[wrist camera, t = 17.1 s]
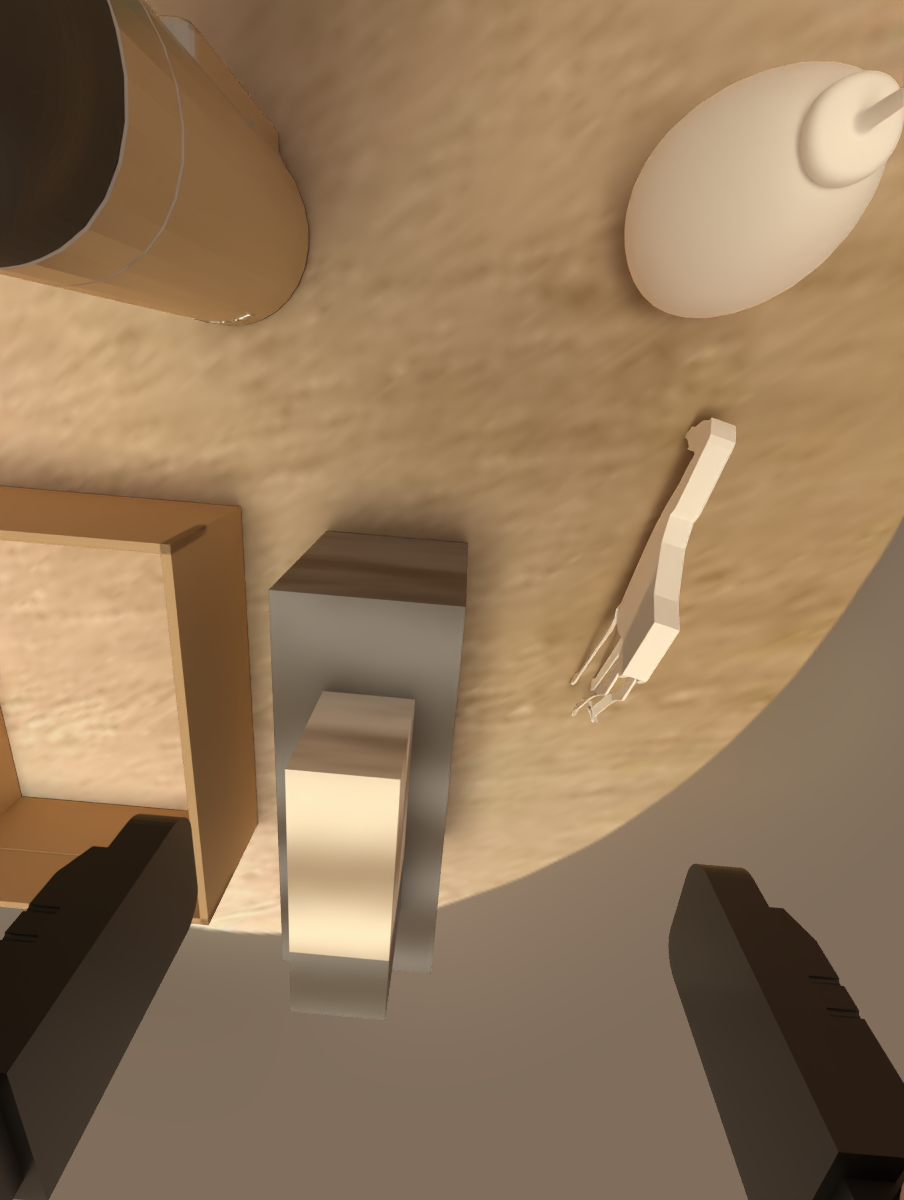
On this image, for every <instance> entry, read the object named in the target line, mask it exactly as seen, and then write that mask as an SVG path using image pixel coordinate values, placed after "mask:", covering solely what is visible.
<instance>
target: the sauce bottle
mask: <svg viewBox="0 0 904 1200" xmlns="http://www.w3.org/2000/svg"><path fill="white" fill-rule="evenodd" d="M903 123H904V87H902V88H900V87H899V85H898V83H897V82H896V81H895V80H894V79H893V77H891V76H889V75H888V74H886V73H884V72H880V71H876V70H866V71H864V70H862V69H860V68H858V67H856V66H852V65H848V64H844V63H840V62H826V61H807V62H799V63H794V64H789V65H784V66H779V67H775V68H771V69H767V70H765V71H762V72H759V73H757V74H754V75H752V76H749V77H747V78H744V79H742V80H739V81H737V82H735V83H733V84H731V85H729V86H727V87H725V88H724V89H722V90H721V91H719V92H717V93H716V94H714V95H713V96H711V97H709V98H708V99H706V100H705V101H703V102H702V103H700V104H699V105H697V106H696V107H695V108H694V109H692V110H691V111H690V112H689V113H688V114H687V115H686V116H685V117H683V118H682V119H681V120H680V121H679V122H678V123H677V124H676V125H675V126H673V127H672V128H671V129H670V130H669V131H668V133H667V134H666V135H665V136H664V137H663V139H662V140H661V141H660V143H659V144H658V145H657V147H656V148H655V149H654V151H653V152H652V153H651V155H650V156H649V157H648V159H647V160H646V162H645V164H644V166H643V168H642V170H641V172H640V174H639V176H638V178H637V180H636V182H635V185H634V187H633V190H632V193H631V197H630V200H629V204H628V208H627V212H626V221H625V230H624V235H625V253H626V258H627V263H628V268H629V271H630V273H631V276H632V279H633V281H634V283H635V285H636V287H637V288H638V290H639V291H640V293H641V295H642V296H643V297H644V298H645V299H646V300H647V301H648V302H650V303H651V304H652V305H653V306H654V307H656V308H658V309H660V310H662V311H663V312H665V313H667V314H671V315H675V316H680V317H684V318H711V317H717V316H723V315H729V314H733V313H737V312H740V311H742V310H745V309H748V308H751V307H754V306H757V305H759V304H762V303H763V302H765V301H767V300H769V299H771V298H773V297H775V296H777V295H778V294H780V293H782V292H784V291H786V290H788V289H789V288H791V287H792V286H794V285H795V284H797V283H798V282H799V281H800V280H802V279H803V278H804V277H806V276H807V275H808V274H809V273H811V272H812V271H813V270H815V269H816V268H817V267H818V266H820V265H821V264H822V263H823V262H824V261H825V260H826V259H827V258H828V257H829V256H830V255H831V254H832V252H833V251H834V250H835V249H836V248H837V247H838V246H839V245H840V244H841V242H842V241H843V240H844V239H845V238H846V237H847V236H848V235H849V233H850V232H851V231H852V229H853V228H854V227H855V225H856V224H857V222H858V221H859V219H860V217H861V216H862V214H863V213H864V211H865V209H866V208H867V206H868V204H869V203H870V201H871V200H872V198H873V196H874V194H875V192H876V189H877V187H878V185H879V182H880V180H881V177H882V175H883V172H884V169H885V166H886V162H887V160H888V159H889V157H890V156H891V154H892V153H893V151H894V149H895V148H896V146H897V143H898V141H899V138H900V136H901V132H902V128H903Z"/></svg>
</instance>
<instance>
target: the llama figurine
mask: <svg viewBox="0 0 904 1200" xmlns="http://www.w3.org/2000/svg"><path fill="white" fill-rule="evenodd" d="M685 438H686V439H687V441H688V446H689V447H688V450H690V451H693V452H694V456H693V458H692V460H691V461H690V463H689V465H688V467H687V469H686V471H685V473H684V475H683V477H682V479H681V481H680V483H679V485H678V486H677V488H676V490H675V491H674V493H673V495H672V496H671V498H670V500H669V501H668V503H667V505H666V506H665V508H664V510H663V512H662V514H661V516H660V518H659V520H658V521H657V523H656V525H655V527H654V530H653V532H652V534H651V536H650V538H649V540H648V542H647V544H646V547H645V549H644V551H643V553H642V556H641V558H640V560H639V563H638V565H637V567H636V569H635V572H634V574H633V576H632V579H631V581H630V583H629V585H628V588H627V590H626V592H625V595H624V597H623V599H622V602H621V603H620V605H619V606H618V607H617V608H616V612H615V618H614V620H613V622H612V623H611V625H610V626H609V628H608V629H607V631H606V633H605V634H604V636H603V637H602V639H601V640H600V642H599V643H598V645H597V646H596V648H595V649H594V651H593V652H592V654H591V655H590V656H589V658H588V659H587V661H586V662H585V664H584V665H583V667H582V668H581V670H580V671H579V672H578V673H577V672H576V673H575V674H574V676H573V677H572V680H571V682H570V684H572V685H574V684H575V683H576V682H577V680H578V679H579V677H580V676H581V674H582V673H583V671H584V670H585V668H586V667H587V666H588V664H589V663H590V661H591V660H592V658H593V657H594V655H595V654H596V652H597V651H598V649H599V648H600V647H601V645H602V644H603V643H604V641H605V640H606V639H607V637H608V636H609V635H610V633H611V632H612V631H613V629H614V628H615V625H616V623H617V629H618V634H619V635H620V637H621V638H620V640H619V642H618V643H617V645H616V647H615V648H614V650H613V651H612V653H611V655H610V656H609V658H608V659H607V661H606V662H605V664H604V665H603V667H602V668H601V670H600V671H599V673H598V674H597V676H596V678H592V681H591V689H590V691H593V692H592V693H591V694H590V695H588V696H587V697H586V698H585V699H584V700H583V699H582V698H581V699H580V701H579V703H577V705H576V707H575V708H574V710H573V712H572V714H571V715H572V716H575V715H576V714H577V712H578V710H579V709H580V708H581V707H582V706H583V705H584V704H585V703H587V702H588V701H589V700H590V699H591V698H593V697H595V696H600V695H606V696H605V697H604V698H603V699H602V700H600V701H599V702H598V703H597V704H596V705H594V706H593V703H592V701H590V702H589V704H590V707H588V711H589V714H590V718H591V721H592V722H594V721H595V723H598V720H597V717H596V715H597V714H599V713H600V712H601V711H603V710H604V709H605V708H606V707H608V706H609V705H610V704H612V703H614V701H617V700H620V701H624V699H625V698H626V696H627V695H628V693H629V692H630V690H631V689H632V687H633V686H634V684H635V683H636V682H637V683H640V684H641V683H645V682H647V680H648V679H649V677H650V676H651V674H652V673H653V671H654V670H655V668H656V666H657V665H658V663H659V662H660V660H661V659H662V657H663V656H664V654H665V653H666V651H667V650H668V648H669V647H670V645H671V643H672V642H673V640H674V639H675V637H676V636H677V634H678V633H679V631H680V623H679V606H678V601H679V593H680V585H681V577H682V570H683V562H684V555H685V549H686V546H687V542H688V539H689V536H690V533H691V530H692V527H693V523H694V522H695V521H696V520H697V518H698V517H699V516H700V514H701V512H702V510H703V508H704V506H705V504H706V502H707V500H708V498H709V496H710V494H711V492H712V490H713V488H714V486H715V484H716V482H717V480H718V478H719V476H720V474H721V472H722V470H723V468H724V466H725V464H726V462H727V460H728V458H729V456H730V454H731V452H732V450H733V448H734V446H735V443H736V426H734V425H731V424H729V423H726V422H723V421H720V420H718V419H715V418H712V417H711V419H710V420H703V421H702V422H700V423H699V424H698V425H697V426H696V427H693V426H692V427H691V428H690V430H689V431H688V432H687V434H686V436H685ZM618 657H619V658H618ZM617 658H618V660H617V662H616V664H615V666H614V668H613V669H612V671H611V673H610V675H609V677H608V679H607V681H605V682H604V683H603V684H602V685H601V686H600V687H598V688H596V687H597V686H598V684H599V683H600V681H601V680H602V679H603V677H604V676H605V674H606V673H607V672H608V670H609V669H610V668H611V666H612V665H613V663H614V662H615V661H616V659H617ZM628 676H629V677H628ZM618 677H621V678H625V677H628V679H627V680H626V682H625V684H624V686H623V687H622V688H620V689H619V690H618V691H617V692H615V693H611V694H608V692H609V691H610V689H611V688H612V686H613V684H614V683H615V681H616V680H617V678H618ZM595 688H596V689H595ZM607 694H608V695H607Z"/></svg>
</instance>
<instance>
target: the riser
mask: <svg viewBox="0 0 904 1200" xmlns="http://www.w3.org/2000/svg"><path fill="white" fill-rule="evenodd" d="M467 551H468V543H460V542H449V541H437V540H425V539H414V538H402V537H390V536H379V535H367V534H356V533H344V532H332V531H326V532H325V533H324V534H323V535H322V536H321V537H320V538H319V539H318V540H317V541H316V542H315V543H314V544H313V545H312V546H311V547H310V548H309V549H308V550H307V551H306V552H305V553H304V554H303V555H302V556H301V558H300V559H299V560H298V561H297V562H296V563H295V564H294V565H293V566H292V567H291V568H290V569H289V570H288V571H287V572H286V573H285V574H284V575H283V576H282V577H281V578H280V579H279V580H278V581H277V582H276V583H275V584H274V585H273V586H272V587H271V588H270V589H269V612H270V638H271V664H272V689H273V715H274V741H275V767H276V793H277V819H278V845H279V871H280V897H281V923H282V949H283V961H288V962H290V954H289V913H288V872H287V831H286V790H285V768H286V766H287V764H288V762H289V760H290V758H291V756H292V754H293V752H294V750H295V748H296V745H297V743H298V741H299V739H300V737H301V735H302V733H303V731H304V729H305V727H306V725H307V723H308V721H309V719H310V717H311V714H312V712H313V710H314V708H315V706H316V704H317V702H318V700H319V698H320V696H321V694H322V692H323V691H329V692H340V693H351V694H362V695H373V696H383V697H394V698H405V699H415V707H414V721H413V735H412V749H411V764H410V778H409V792H408V806H407V820H406V834H405V848H404V862H403V876H402V890H401V904H400V915H399V922H398V929H397V936H396V944H395V951H394V958H393V966H392V971H402V972H403V971H404V972H413V973H414V972H415V973H425V974H431V968H432V958H433V947H434V937H435V926H436V916H437V905H438V895H439V884H440V874H441V863H442V853H443V842H444V832H445V821H446V811H447V800H448V790H449V779H450V769H451V758H452V747H453V737H454V726H455V716H456V705H457V695H458V684H459V674H460V663H461V653H462V642H463V632H464V621H465V611H466V585H467Z"/></svg>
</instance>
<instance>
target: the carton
mask: <svg viewBox="0 0 904 1200" xmlns="http://www.w3.org/2000/svg"><path fill="white" fill-rule="evenodd" d="M0 540H6V541H18V542H29V543H41V544H53V545H64V546H76V547H87V548H99V549H111V550H122V551H134V552H145V553H157V554H161V561H162V570H163V580H164V589H165V598H166V607H167V617H168V626H169V635H170V644H171V653H172V663H173V672H174V681H175V690H176V700H177V709H178V718H179V727H180V736H181V746H182V755H183V764H184V773H185V783H186V792H187V801H188V810H189V811H181V810H169V809H158V808H146V807H135V806H123V805H112V804H101V803H89V802H78V801H66V800H55V799H43V798H32V797H22V796H21V792H20V788H19V783H18V779H17V775H16V771H15V766H14V762H13V758H12V754H11V750H10V745H9V741H8V737H7V733H6V729H5V724H4V720H3V716H2V712H1V707H0V907H10V908H21V909H28V907H29V903H30V902H31V901H32V900H33V899H34V898H35V896H36V895H37V894H38V893H39V892H40V891H41V889H42V888H43V887H44V886H45V885H46V883H47V882H48V881H49V880H50V879H51V878H52V876H53V875H54V874H55V873H56V872H57V871H58V870H60V869H61V868H63V867H64V866H65V865H67V864H68V863H70V862H71V861H72V860H74V859H75V858H77V857H78V856H79V855H81V854H82V853H84V852H85V851H86V850H88V849H89V848H91V847H92V846H99V847H108V846H109V845H110V844H111V842H112V841H113V840H114V838H115V837H116V836H117V835H118V833H119V832H120V831H121V830H122V828H123V827H124V826H125V824H126V823H127V822H128V821H129V820H130V819H131V818H132V817H133V816H135V815H136V814H151V815H163V816H174V817H185V818H187V819H189V821H190V824H191V828H192V837H193V847H194V856H195V865H196V875H197V884H198V896H197V903H196V908H195V912H194V916H193V919H192V922H191V924H203V925H209V923H210V921H211V919H212V917H213V915H214V913H215V911H216V909H217V907H218V905H219V903H220V901H221V899H222V897H223V894H224V892H225V890H226V888H227V886H228V884H229V882H230V880H231V878H232V876H233V874H234V872H235V870H236V868H237V866H238V864H239V862H240V859H241V857H242V855H243V853H244V851H245V849H246V847H247V845H248V843H249V841H250V839H251V837H252V835H253V833H254V831H255V829H256V827H257V825H258V812H257V794H256V775H255V757H254V738H253V720H252V702H251V683H250V665H249V646H248V628H247V609H246V591H245V572H244V554H243V535H242V517H241V507H240V506H228V505H217V504H205V503H193V502H182V501H170V500H158V499H147V498H135V497H123V496H112V495H100V494H89V493H77V492H65V491H54V490H42V489H30V488H19V487H7V486H0Z"/></svg>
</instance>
